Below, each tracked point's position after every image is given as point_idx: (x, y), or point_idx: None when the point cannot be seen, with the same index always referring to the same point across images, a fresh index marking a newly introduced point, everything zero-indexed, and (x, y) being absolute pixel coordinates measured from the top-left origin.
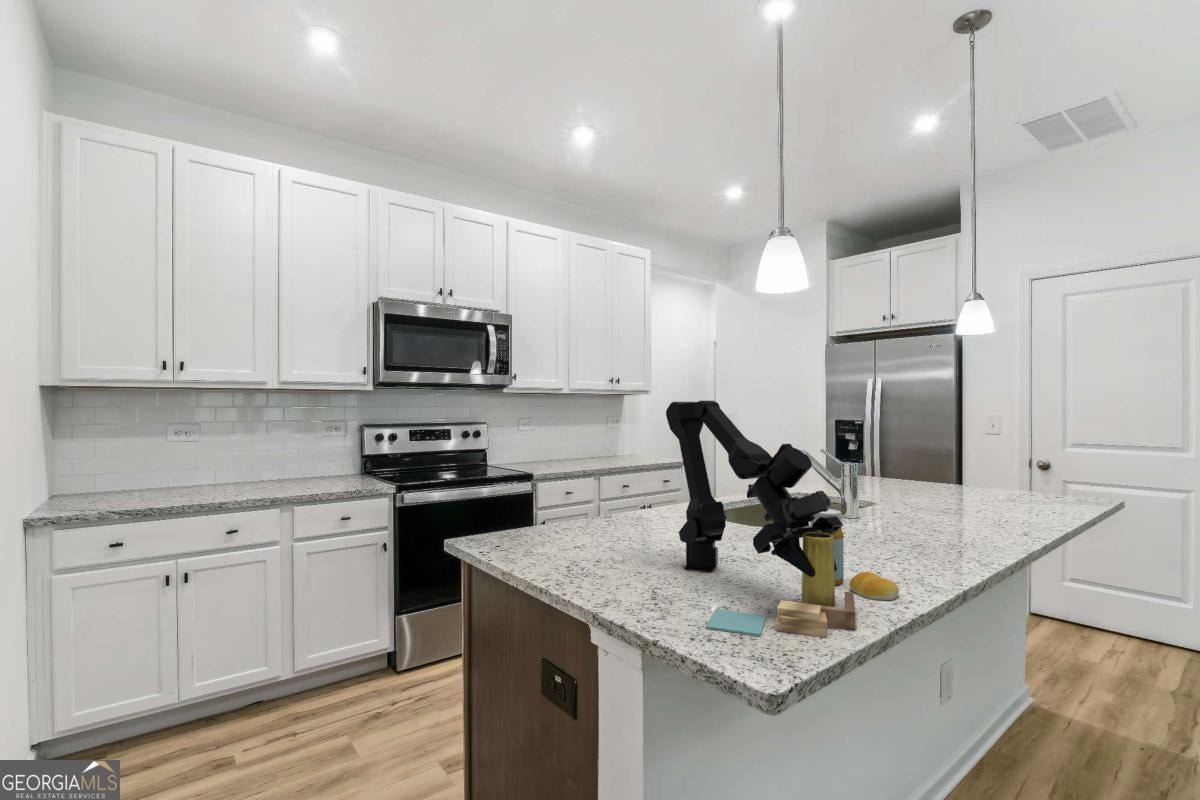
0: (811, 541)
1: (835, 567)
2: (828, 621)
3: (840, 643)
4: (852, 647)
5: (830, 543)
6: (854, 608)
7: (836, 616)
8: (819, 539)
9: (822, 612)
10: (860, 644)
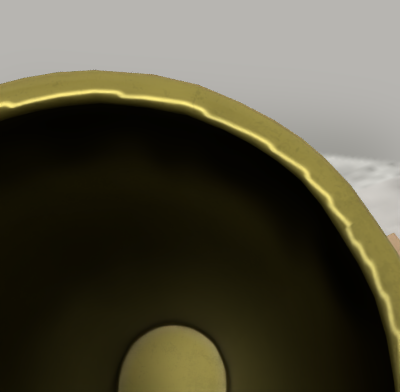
0: (381, 359)
1: None
2: None
3: (380, 203)
4: (376, 171)
5: (143, 144)
6: None
7: None
8: (340, 195)
9: None
10: (337, 163)
